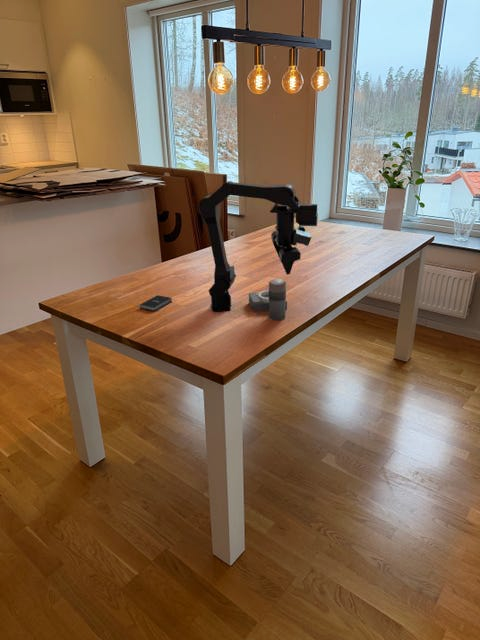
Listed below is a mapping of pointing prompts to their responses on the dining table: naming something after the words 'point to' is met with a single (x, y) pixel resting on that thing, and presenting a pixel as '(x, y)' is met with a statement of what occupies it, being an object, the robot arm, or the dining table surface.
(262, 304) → the camera body
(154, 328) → the dining table surface
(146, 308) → the external hard drive
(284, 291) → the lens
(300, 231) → the robot arm
